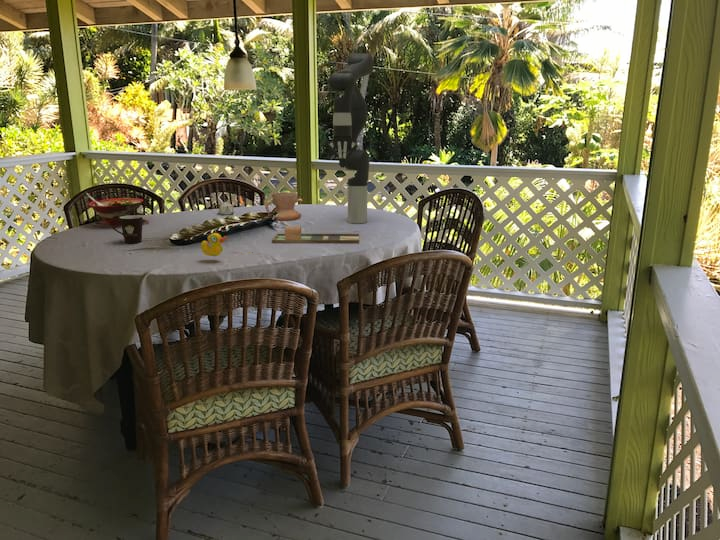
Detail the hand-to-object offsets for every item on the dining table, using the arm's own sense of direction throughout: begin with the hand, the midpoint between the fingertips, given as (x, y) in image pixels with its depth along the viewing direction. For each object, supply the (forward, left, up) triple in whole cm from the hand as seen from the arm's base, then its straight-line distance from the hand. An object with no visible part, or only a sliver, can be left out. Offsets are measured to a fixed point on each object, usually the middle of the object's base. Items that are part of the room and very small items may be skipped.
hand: (342, 167), depth 239 cm
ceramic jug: (-33, -29, -29) cm, 53 cm away
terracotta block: (+9, -20, -28) cm, 36 cm away
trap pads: (+9, -10, -29) cm, 32 cm away
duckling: (+39, -45, -29) cm, 67 cm away
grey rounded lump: (-41, -59, -29) cm, 77 cm away
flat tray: (+9, -10, -29) cm, 32 cm away
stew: (-19, -104, -29) cm, 110 cm away
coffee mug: (+13, -86, -29) cm, 92 cm away
